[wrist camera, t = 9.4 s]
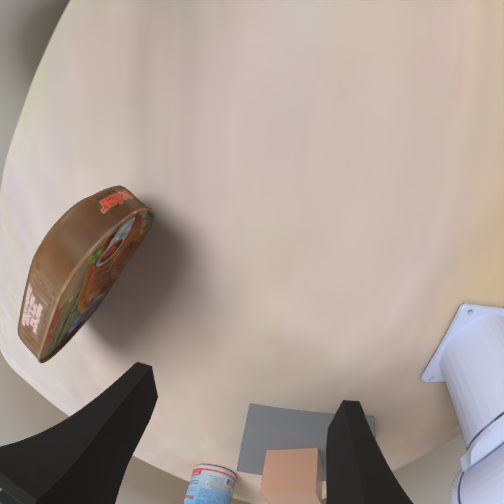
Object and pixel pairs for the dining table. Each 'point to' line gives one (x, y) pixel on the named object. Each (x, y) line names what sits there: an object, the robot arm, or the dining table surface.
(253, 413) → the gray block
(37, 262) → the tin
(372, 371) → the dining table surface
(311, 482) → the terracotta cube
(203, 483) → the pill bottle
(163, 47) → the dining table surface
